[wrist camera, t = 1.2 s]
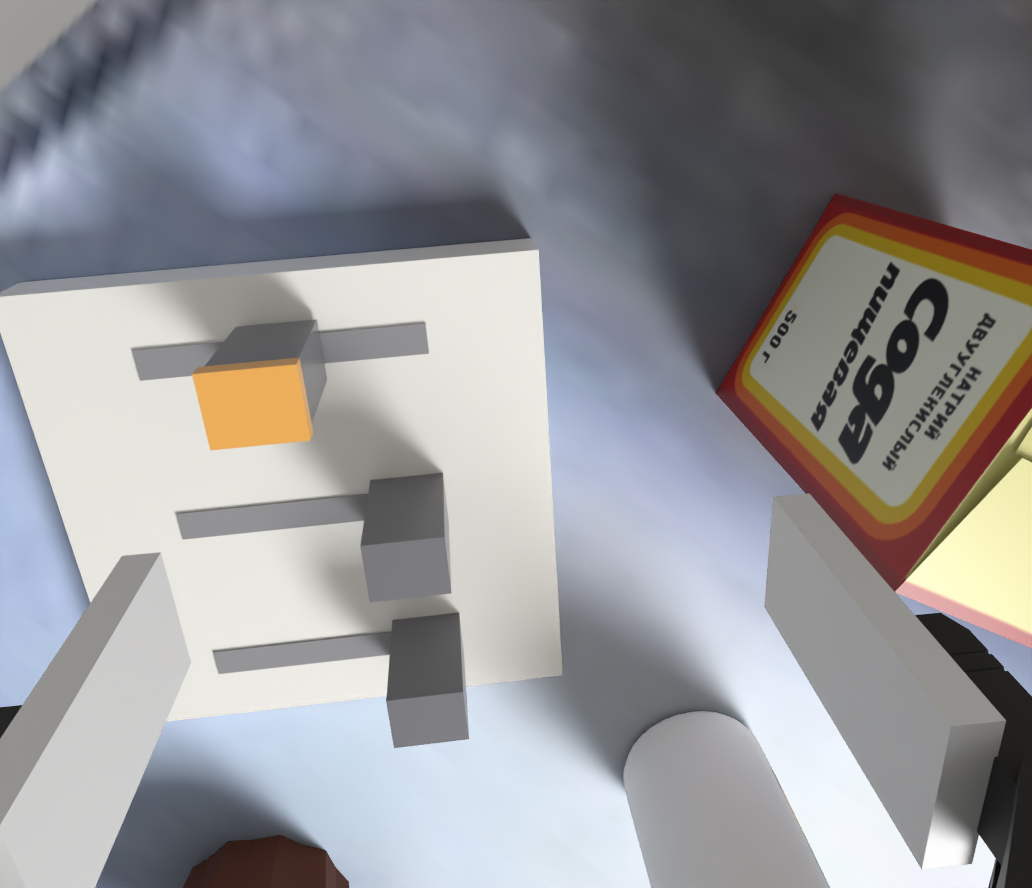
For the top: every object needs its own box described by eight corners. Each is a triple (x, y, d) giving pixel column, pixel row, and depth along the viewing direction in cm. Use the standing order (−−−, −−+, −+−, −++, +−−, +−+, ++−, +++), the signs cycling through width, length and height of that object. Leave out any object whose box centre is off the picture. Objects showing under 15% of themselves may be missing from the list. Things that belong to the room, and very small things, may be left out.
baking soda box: (835, 193, 34) (1141, 281, 19) (957, 260, 35) (1324, 388, 21) (715, 393, 37) (901, 599, 22) (833, 447, 39) (1077, 671, 24)
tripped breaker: (246, 390, 32) (210, 450, 27) (232, 324, 31) (192, 374, 26) (330, 382, 32) (310, 440, 27) (319, 316, 31) (296, 364, 26)
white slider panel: (148, 689, 40) (87, 819, 33) (19, 282, 32) (-97, 339, 25) (555, 642, 42) (581, 759, 34) (531, 238, 33) (558, 281, 26)
